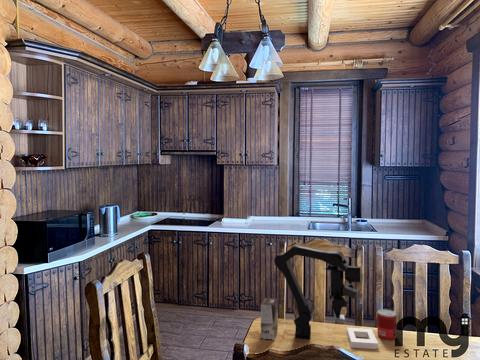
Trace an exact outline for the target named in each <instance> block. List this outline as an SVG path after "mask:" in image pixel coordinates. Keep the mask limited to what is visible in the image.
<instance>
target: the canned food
mask: <svg viewBox="0 0 480 360" xmlns="http://www.w3.org/2000/svg"><path fill="white" fill-rule="evenodd" d="M376 317H377V323H376V324H377V325H376V326H377V336H378V337H379V338H380V339H383V340H388V341H394V340H396V338H397V313H396V312H395V311H393V310H391V309H382V308H381V309H378V310H377V316H376ZM393 339H394V340H393Z"/></svg>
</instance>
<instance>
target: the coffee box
mask: <svg viewBox="0 0 480 360" xmlns="http://www.w3.org/2000/svg"><path fill="white" fill-rule="evenodd" d="M278 303H279V302H278V298H277V297H276V298H275V297H274V298H273V297H264V298H263V299H262V302H260V339H261V338H263V339H262V340H265V339H272V340H271V341H273V340H274V341H275V339H276V337H277V335H276V334H278V332H279V331H278V327H279V325H278V321H279V320H278V312H279V311H278V306H279V305H278ZM277 331H278V332H277Z"/></svg>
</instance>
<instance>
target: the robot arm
mask: <svg viewBox="0 0 480 360" xmlns="http://www.w3.org/2000/svg"><path fill="white" fill-rule="evenodd" d="M295 256H300V257H305V258H310V259H315V260H319V261H322V262H324V263H326V264H328V265H327V266H326V267H325V270H326V271H329V286H328V287H327V288H328V289H327V294H328V297H329V300H330V304H331V307H332V310H333V314H334V313H335V315H336V318H339V316H340V315H341V313H342V308H347V307H348V302H347V299H346V298H345V297H346V296H347V297H349V298H352V299H353V300H355V299H356V298H357V295H358V293H359V292H358V290H357V289H356V288H355V287H354V285H353V284H352V283H356V284H357V283H358V284H362V281H363V280H362V279H363V278H362V276H363V273H362V269H361V268H362V266H357V265H356V266H351V265H350V264H349V263H348V262H347V260H346V259H345V256H344V253H343V252H342V251H340V250H321V249H316V248H311V247H307V246H302V245H299V244H294V245H293V246H292V247H291V248H290V249H288V250H287V251H286V252H285V251H284V252H283V251H282V252H280V253H279V254H277V255H276V256H275V257H274V260H273V261H274V265H275V266H276V268H277V269H278V271H280V272H281V274H283V277H284V279H285V281H286V283H287V284H288V285H287V286H288V287H289V290H290V291H291V294H292V296H293V300H294V301H295V304H296V309H297V310H296V311H297V315H296V317H295V318H294V320H293V322H294V325H295V333H294V337H295V339H301V340H302V339H303V340H304V339H306V340H310V339H311V336H312V334H311V333H312V332H311V331H312V327H311V324H310V321H311V320H312V319H313V317H314V315H315V307H314V305H313V302H312V300H311V299H310V300H308V299H306V297H305V295H304V293H303V291H302V289H301V286H300V284H299V282H298V280H297V277H296V275H295V273H294V271H293V266H292V265H293V264H292V261H291V259H292V258H294V257H295ZM344 280H345V281H347V282H348V284H347V285H346V284H345V281H344Z"/></svg>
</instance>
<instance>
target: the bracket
mask: <svg viewBox="0 0 480 360" xmlns="http://www.w3.org/2000/svg"><path fill="white" fill-rule="evenodd" d="M333 315H334V316H333V317H334V322H335V323H339V324H340V323H343V324H346V318H345V316H344V314H340V316H339V318H336V315H335V313H334V312H333Z"/></svg>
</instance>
